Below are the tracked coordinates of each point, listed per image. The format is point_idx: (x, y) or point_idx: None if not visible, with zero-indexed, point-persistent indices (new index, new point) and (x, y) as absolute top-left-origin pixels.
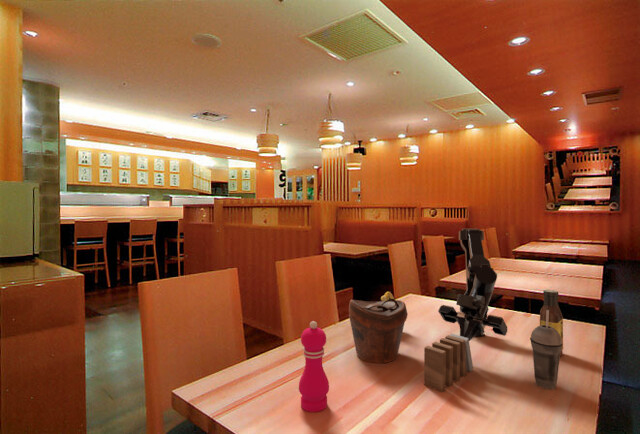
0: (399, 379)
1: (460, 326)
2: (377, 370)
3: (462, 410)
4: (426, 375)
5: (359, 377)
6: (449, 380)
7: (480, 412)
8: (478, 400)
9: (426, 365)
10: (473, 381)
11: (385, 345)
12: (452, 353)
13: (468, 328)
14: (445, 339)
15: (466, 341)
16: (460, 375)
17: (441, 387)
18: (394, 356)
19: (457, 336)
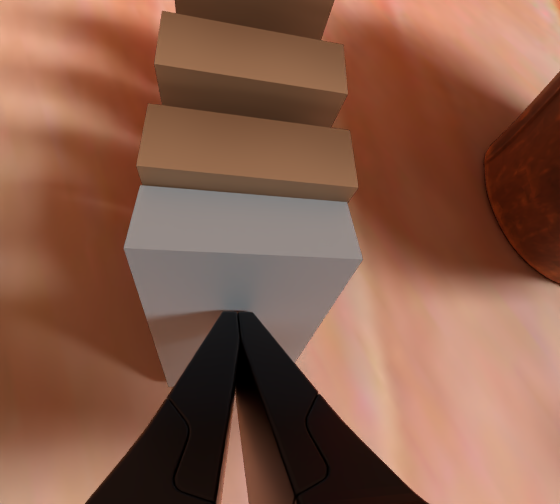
0: (362, 79)
1: (366, 466)
2: (454, 93)
3: (81, 11)
4: None
5: (447, 28)
6: None
7: (14, 27)
8: (45, 98)
9: None
10: (120, 247)
11: (553, 81)
12: (176, 5)
13: (190, 476)
14: (309, 69)
15: (137, 206)
16: None
17: None
18: (499, 187)
19: (270, 235)
